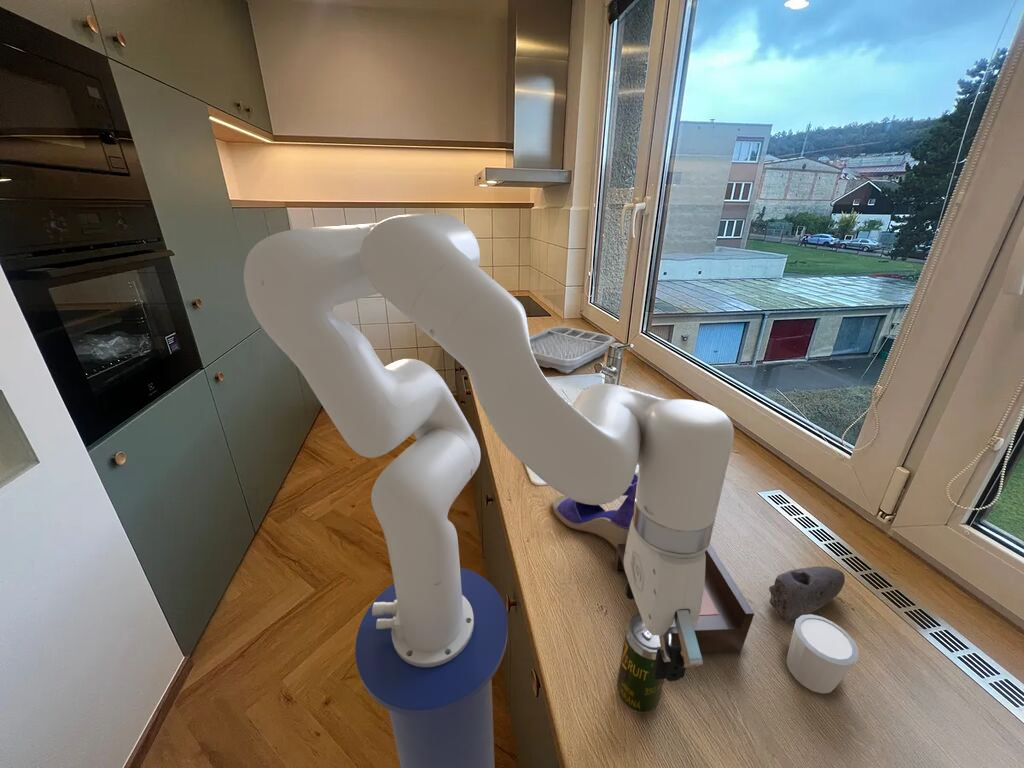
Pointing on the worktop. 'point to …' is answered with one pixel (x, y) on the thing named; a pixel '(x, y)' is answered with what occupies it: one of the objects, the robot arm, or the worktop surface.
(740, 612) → the shelf
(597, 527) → the sandal
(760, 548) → the worktop surface
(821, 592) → the perforated stone tool
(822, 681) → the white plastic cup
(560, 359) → the dish rack
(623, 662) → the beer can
